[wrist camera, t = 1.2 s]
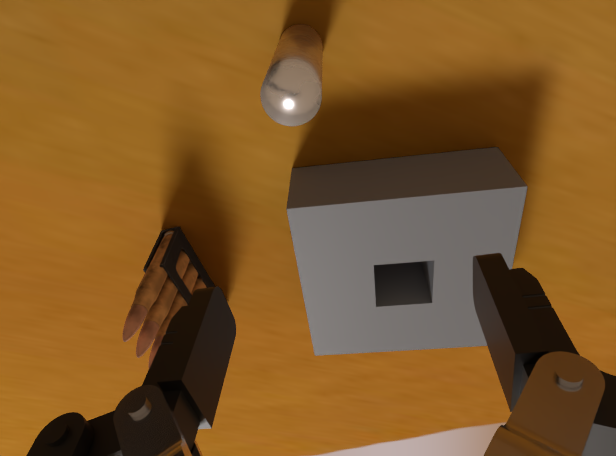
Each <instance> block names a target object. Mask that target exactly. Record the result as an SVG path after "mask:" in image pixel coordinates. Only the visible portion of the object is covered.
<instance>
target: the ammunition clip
mask: <svg viewBox="0 0 616 456" xmlns="http://www.w3.org/2000/svg"><path fill="white" fill-rule="evenodd" d="M143 270H144V272H145V275H144V277H143V279H142V281H141V283H140V285H139V287H138V289H137V291H136V295H135V299H134V302H133V304H132V306H131V309H130V311H129V313H128V316H127V319H126V321H125V325H124V330H123V341H124V342H126V341H128V340H129V339H130V338H131V337H132V336H133V335H134V334H135V333H136V331H137V330H138V329H139V327H140V326H141V324H142V323H143V321H144V323H143V326H142V329H141V331H140V334H139V338H138V341H137V347H136V355H137V357H138V358H139V357H141V356H142V355H143V354H144V353H145V352H146V351H147V349H148V348H149V347H150V345H151V344H152V342H153V340H154V339H155V341H154V343H153V346H152V350H151V353H150V358H149V368H150V366H151V364H152V362H153V359H154V357H155V355H156V352H157V350H158V348H159V346H160V345H161V341H162V339H163V336H164V335H165V334H166V329H167V327H168V325H169V323H170V320H171V318H172V317H173V316H174V315H175V314H176V313H177V312H178V310H179V309H180V308H181V307H182V306H188V304H189V302H190V299H191V297H192V294H193V292H194V291H195V290H196V289H201V288H209V287H215V286H214V284H213V282H212V281H211V279H210V277H209V276H208V274H207V272H206V270H205V269H204V267H203V265H202V264H201V262H200V260H199V259H198V257H197V255H196V254H195V252H194V250H193V249H192V247H191V245H190V244H189V242H188V240H187V239H186V237H185V235H184V234H183V232H182V230H181V228H180V227H174V228H170V229H166V230H162V231H161V232H160V235H159V237H158V239H157V241H156V243H155V245H154V247H153V250H152V252H151V254H150V256H149V258H148V260H147V262H146V264H145V267H144V269H143ZM145 317H146V318H145ZM144 319H145V320H144Z"/></svg>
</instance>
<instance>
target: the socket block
mask: <svg viewBox="0 0 616 456" xmlns="http://www.w3.org/2000/svg"><path fill="white" fill-rule="evenodd" d="M526 192H527V185H526V184H525V182H524V181H523V180H522V178H521V177H520V176H519V174H518V173H517V172H516V171H515V169H514V168H513V167H512V165H511V164H510V163H509V161H508V160H507V159H506V157H505V156H504V155H503V153H502V152H501V151H500V149H499V148H498V147H492V148H482V149H473V150H463V151H453V152H444V153H434V154H425V155H415V156H405V157H396V158H386V159H377V160H367V161H357V162H348V163H338V164H329V165H319V166H309V167H300V168H292V172H291V180H290V187H289V194H288V202H287V214H288V219H289V224H290V230H291V235H292V240H293V245H294V250H295V255H296V261H297V266H298V271H299V276H300V281H301V286H302V291H303V297H304V302H305V307H306V312H307V317H308V322H309V328H310V333H311V338H312V343H313V348H314V353H315V355H333V354H350V353H368V352H385V351H402V350H420V349H437V348H455V347H472V346H488V345H487V343H486V340H485V337H484V334H483V331H482V328H481V325H480V322H479V319H478V317H477V314H476V310H475V306H474V300H473V256H477V255H485V254H493V253H501V254H502V256H503V258H504V260H505V262H506V264H507V266H508V268H509V269H512V266H513V260H514V255H515V250H516V244H517V239H518V234H519V229H520V223H521V218H522V213H523V208H524V202H525V197H526Z"/></svg>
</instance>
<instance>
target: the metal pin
mask: <svg viewBox="0 0 616 456" xmlns="http://www.w3.org/2000/svg"><path fill="white" fill-rule="evenodd" d="M322 57H323V45H322V40H321V38H320V36H319V34H318V33H317V31H316V30H315V29H313V28H312V27H310V26H308V25H305V24H296V25H293V26H290V27H289V28H287V29H286V30H285V31H284V32H283V34H282V36H281V38H280V40H279V43H278V45H277V48H276V51H275V53H274V56H273V58H272V61H271V64H270V66H269V69H268V71H267V74H266V77H265V79H264V82H263V84H262V88H261V102H262V105H263V108H264V110H265V111H266V113H267V114H268V115H269V116H270V118H272V119H273V120H274V121H276V122H278V123H280V124H282V125H286V126H298V125H302V124H304V123H307V122H308V121H310V120H311V119H312V118H313V117H314V116H315V115H316V113H317V112H318V110H319V108H320V105H321V99H322Z"/></svg>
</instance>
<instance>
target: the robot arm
mask: <svg viewBox="0 0 616 456" xmlns="http://www.w3.org/2000/svg"><path fill="white" fill-rule="evenodd" d="M473 300H474V306H475V310H476V314H477V317H478V319H479V322H480V325H481V328H482V331H483V334H484V337H485V340H486V343H487V345H488V348H489V351H490V354H491V357H492V360H493V363H494V366H495V368H496V371H497V374H498V377H499V380H500V383H501V386H502V389H503V392H504V394H505V397H506V400H507V403H508V406H509V409H510V412H512V413H511V415H510V417H509V419H508V421H507V423H506V424H505V425H504V426H503V425H501V426H500V427H499V428H498V429H497V431H496V433H495V434H494V436H493V438H492V440H491V442H490V444H489V446H488V448H487V450H486V452H485V454H484V456H616V376H613V375H610V374H607V373H605V372H602V371H600V370H599V369H598V368H597V367H596V366H595V365H594V364H593V363H592V362H590V361H589V360H587V359H586V358H584V357H582V356H580V355H579V353H578V352H577V350H576V349H575V347H574V345H573V343H572V341H571V340H570V338H569V336H568V334H567V332H566V330H565V329H564V327H563V325H562V323H561V321H560V320H559V318H558V316H557V314H556V312H555V311H554V309H553V308H552V307H551V303H550V302H549V300H548V298H547V296H545V292H544V291H543V289H542V287H541V285H540V283H539V282H538V280H537V279H536V278H535V277H534V276H532V275H531V274H530V273H529V272H527V271H526V270H525V269H524V268H517V269H509V268H508V266H507V264H506V262H505V260H504V258H503V256H502V254H501V253H493V254H485V255H477V256H473ZM235 336H236V324H235V319H234V317H233V314H232V312H231V310H230V308H229V305H228V303H227V301H226V299H225V297H224V294H223V292H222V290H221V289H220V288H219V287H209V288H201V289H196V290H195V291H194V292H193V294H192V297H191V299H190V302H189V304H188V306H182V307H181V308H180V309H179V310H178V312H177V313H176V314H175V315H174V316H173V317H172V318H171V320H170V323H169V325H168V327H167V329H166V334H165V335H164V336H163V339H162V341H161V345H160V346H159V348H158V350H157V352H156V355H155V357H154V359H153V362H152V364H151V366H150V368H149V371H148V373H147V375H146V378H145V380H144V382H143V384H142V386H141V387H138V388H136V389H134V390H132V391H131V392H129V393H128V394H127V395H126V396H125V397H124V398H123V399H122V400H121V401H120V402H119V404H118V406H117V407H116V409H115V411H113V412H110V413H107V414H105V415H102V416H99V417H97V418H94V419H91V420H89V421H86V419H85V418H84V417H83V416H82V415H81V414H79V413H75V412H72V413H66V414H63V415H61V416H59V417H57V418H56V419H54V420H53V421H51V422H50V423H49V424H48V425H46V426H45V427H44V429H43V430H42V431H41V432H40V433H39V435H38V436H37V438H36V439H35V441H34V443H33V445H32V447H31V449H30V450H29V452H28V454H27V456H203V455H202V453H201V451H200V449H199V446H198V444H197V442H196V441H195V438H196V434H197V431H198V429H207V428H212V424H213V421H214V417H215V413H216V409H217V405H218V401H219V398H220V394H221V390H222V386H223V382H224V378H225V375H226V371H227V367H228V363H229V359H230V355H231V352H232V348H233V344H234V340H235Z"/></svg>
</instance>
